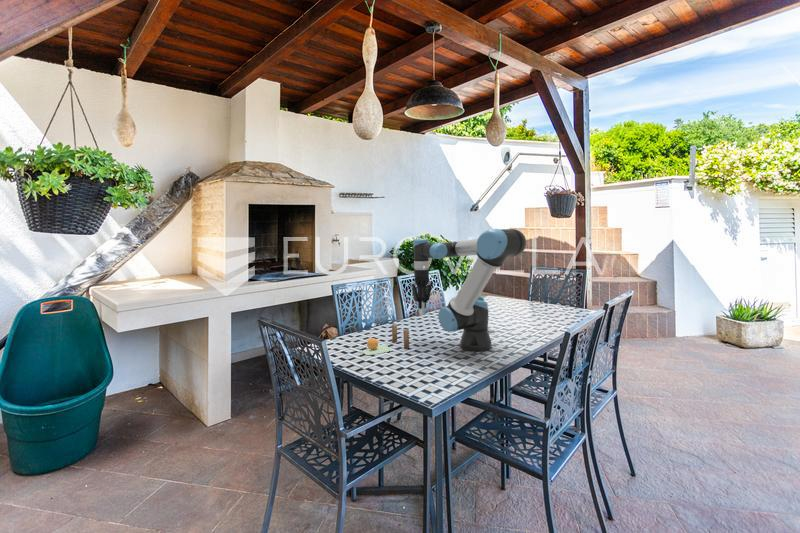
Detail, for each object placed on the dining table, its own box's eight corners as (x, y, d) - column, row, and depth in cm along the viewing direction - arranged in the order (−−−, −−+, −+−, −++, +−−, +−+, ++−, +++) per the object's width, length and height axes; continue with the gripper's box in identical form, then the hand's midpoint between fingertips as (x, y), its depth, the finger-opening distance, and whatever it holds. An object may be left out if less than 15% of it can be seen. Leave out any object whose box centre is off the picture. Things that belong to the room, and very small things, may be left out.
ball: (369, 351, 181) (380, 350, 184) (370, 340, 181) (380, 339, 184) (364, 348, 186) (374, 347, 189) (365, 337, 186) (375, 336, 188)
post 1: (398, 341, 197) (397, 324, 196) (393, 342, 196) (393, 325, 195) (395, 340, 199) (395, 323, 198) (391, 341, 198) (391, 324, 197)
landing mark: (394, 350, 182) (394, 350, 182) (367, 355, 176) (367, 355, 176) (381, 343, 195) (381, 343, 195) (356, 347, 188) (356, 347, 188)
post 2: (410, 348, 186) (409, 330, 185) (405, 349, 184) (405, 330, 184) (407, 346, 188) (407, 329, 187) (402, 347, 187) (402, 329, 186)
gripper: (428, 267, 201) (429, 311, 203) (406, 269, 195) (407, 314, 197) (436, 268, 194) (436, 314, 196) (414, 270, 188) (414, 317, 190)
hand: (422, 314), depth 196 cm, fingers closed
